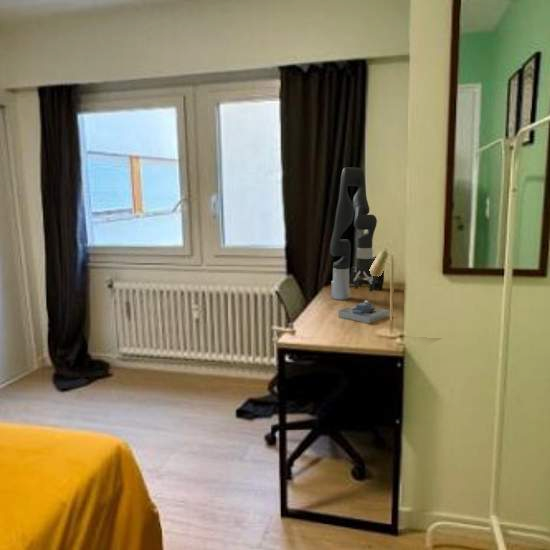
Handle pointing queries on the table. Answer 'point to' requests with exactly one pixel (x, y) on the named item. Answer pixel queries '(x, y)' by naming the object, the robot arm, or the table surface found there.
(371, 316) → the chassis
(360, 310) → the servo
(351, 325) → the table surface
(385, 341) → the table surface
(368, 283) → the adjustable wrench
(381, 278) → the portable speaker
